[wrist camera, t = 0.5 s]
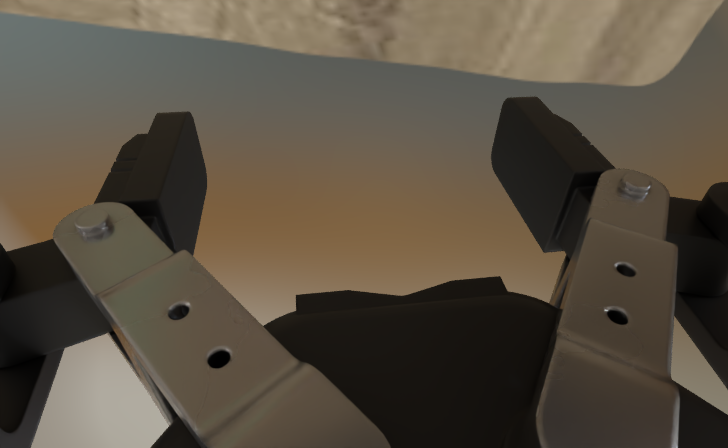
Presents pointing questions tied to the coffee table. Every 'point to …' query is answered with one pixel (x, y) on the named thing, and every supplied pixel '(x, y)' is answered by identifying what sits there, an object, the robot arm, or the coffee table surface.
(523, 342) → the robot arm
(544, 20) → the coffee table surface
